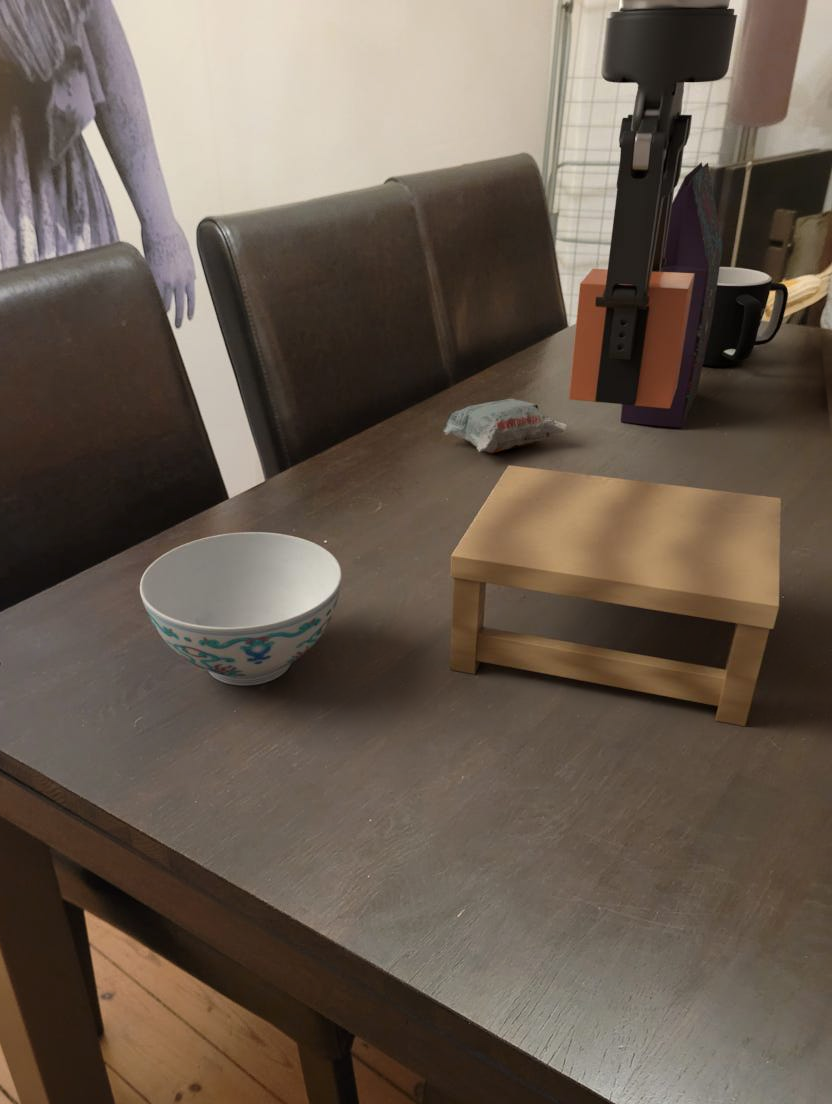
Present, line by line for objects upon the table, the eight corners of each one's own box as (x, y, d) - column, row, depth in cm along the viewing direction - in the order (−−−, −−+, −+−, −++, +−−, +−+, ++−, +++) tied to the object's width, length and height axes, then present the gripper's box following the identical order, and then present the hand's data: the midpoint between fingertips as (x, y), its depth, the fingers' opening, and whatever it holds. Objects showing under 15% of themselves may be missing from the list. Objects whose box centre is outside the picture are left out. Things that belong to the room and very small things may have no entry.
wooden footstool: (755, 606, 81) (781, 497, 76) (748, 728, 67) (779, 605, 62) (501, 567, 88) (508, 465, 83) (446, 670, 74) (451, 555, 69)
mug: (739, 383, 132) (756, 293, 126) (634, 362, 142) (646, 277, 135) (787, 357, 142) (806, 272, 136) (687, 339, 152) (700, 259, 145)
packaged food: (563, 448, 113) (567, 407, 110) (479, 467, 108) (481, 424, 106) (520, 427, 120) (523, 387, 117) (439, 444, 115) (440, 403, 113)
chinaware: (265, 595, 84) (259, 515, 80) (383, 663, 75) (383, 576, 71) (117, 660, 76) (101, 575, 72) (228, 746, 67) (218, 653, 62)
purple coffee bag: (615, 423, 120) (648, 176, 105) (638, 385, 132) (670, 160, 117) (683, 431, 117) (726, 179, 102) (700, 391, 129) (740, 162, 114)
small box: (677, 387, 70) (694, 273, 66) (669, 408, 66) (688, 288, 62) (581, 379, 73) (592, 268, 68) (568, 399, 69) (579, 283, 64)
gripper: (628, 9, 65) (589, 352, 78) (582, 4, 51) (544, 424, 63) (745, 5, 63) (686, 360, 75) (731, -1, 49) (660, 437, 61)
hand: (621, 389), depth 69 cm, fingers closed on small box, 5 cm apart
